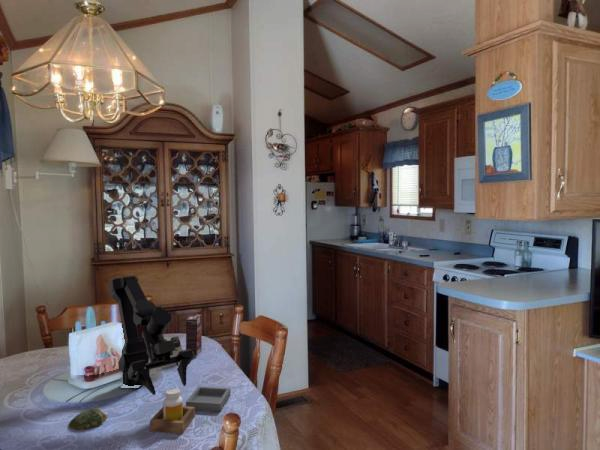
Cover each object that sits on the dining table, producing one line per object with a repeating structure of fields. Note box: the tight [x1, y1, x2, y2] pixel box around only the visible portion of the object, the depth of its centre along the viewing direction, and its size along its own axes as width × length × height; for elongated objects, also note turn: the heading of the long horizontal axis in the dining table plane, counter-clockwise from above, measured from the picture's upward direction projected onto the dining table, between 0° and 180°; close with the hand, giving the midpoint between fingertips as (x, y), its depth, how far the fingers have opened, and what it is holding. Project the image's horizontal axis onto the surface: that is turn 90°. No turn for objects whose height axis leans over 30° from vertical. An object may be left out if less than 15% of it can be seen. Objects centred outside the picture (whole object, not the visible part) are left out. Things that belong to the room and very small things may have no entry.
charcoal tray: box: [185, 385, 231, 413], centre depth 136 cm, size 11×11×2 cm
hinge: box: [148, 339, 184, 373], centre depth 167 cm, size 17×5×10 cm, turn 140°
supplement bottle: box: [162, 387, 184, 421], centre depth 122 cm, size 5×5×10 cm
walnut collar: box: [149, 405, 196, 435], centre depth 122 cm, size 9×9×3 cm
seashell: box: [68, 408, 108, 431], centre depth 123 cm, size 10×4×10 cm
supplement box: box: [185, 313, 203, 359], centre depth 178 cm, size 9×5×16 cm, turn 179°
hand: (170, 389), depth 123 cm, fingers open, 9 cm apart
